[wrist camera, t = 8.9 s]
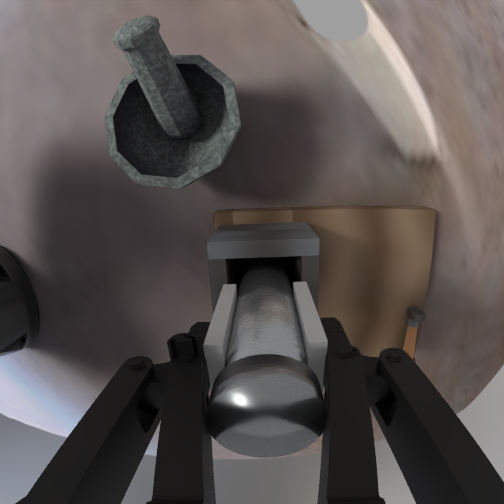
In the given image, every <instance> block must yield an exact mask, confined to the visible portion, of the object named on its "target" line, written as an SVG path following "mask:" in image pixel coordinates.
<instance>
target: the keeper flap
mask: <svg viewBox="0 0 504 504" xmlns="http://www.w3.org/2000/svg"><path fill="white" fill-rule="evenodd" d="M417 327H418V322H413V321H412V320H411V318H410V317H409V319H408V325H407V330H406V335H405V339H404V344H403V348H402V350H404V351H405V352H406V353H408V354H409V356H410V357H411V358H412V359H413V356H414V349H415V342H416V334H417Z"/></svg>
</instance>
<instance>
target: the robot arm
mask: <svg viewBox="0 0 504 504" xmlns="http://www.w3.org/2000/svg"><path fill="white" fill-rule="evenodd" d="M293 300H294V304H295V309H296V313H297V318H298V322H299V327H300V331H301V336H302V341H303V345H304V350H305V355H306V359H307V364H308V367H309V368H310V369H312V371H313V372H314V373H315V374H316V376H317V378H318V380H319V382H320V386H321V390H322V392H323V384H324V387H325V394H324V403H325V407H326V412H327V418H326V424H325V429H324V431H323V438H322V456H321V470H320V483H319V493H318V503H317V504H385V501H384V499H383V498H381V497H380V496H379V492H378V478H377V466H376V455H375V445H374V436H373V428H372V420H371V413H370V407H371V409H372V411H373V413H374V415H375V417H376V419H377V421H378V423H379V426H380V428H381V430H382V432H383V434H384V436H385V438H386V440H387V442H388V444H389V446H390V448H391V450H392V452H393V454H394V456H395V458H396V460H397V463H398V465H399V467H400V469H401V471H402V473H403V476H404V478H405V480H406V482H407V484H408V486H409V488H410V491H411V493H412V495H413V497H414V500H415V502H416V504H504V482H503V481H502V479H501V477H500V476H499V474H498V473H497V472H496V470H495V468H494V467H493V466H492V464H491V463H490V461H489V460H488V458H487V457H486V455H485V454H484V453H483V451H482V450H481V448H480V447H479V445H478V444H477V443H476V441H475V440H474V438H473V437H472V436H471V435H470V433H469V431H468V430H467V429H466V427H465V426H464V425H463V423H462V422H461V421H460V419H459V418H458V417H457V415H456V414H455V413H454V411H453V410H452V409H451V407H450V406H449V405H448V403H447V402H446V401H445V400H444V398H443V397H442V396H441V394H440V393H439V392H438V391H437V389H436V388H435V387H434V385H433V384H432V383H431V382H430V380H429V379H428V378H427V377H426V375H425V374H424V373H423V372H422V370H421V369H420V368H419V367H418V365H417V364H416V363H415V362H414V361H413V359H412V358H411V357H410V356H409V354H408V353H406V352H405V351H404V350H401V349H399V348H387V349H384V350H382V351H381V352H380V355H379V357H369V356H364V355H361V352H360V351H359V349H358V348H356V347H355V346H352V345H351V344H350V341H349V339H348V337H347V335H346V333H345V331H344V329H343V327H342V324H341V322H340V321H339V320H337V319H336V318H335V317H327V318H319V315H318V312H317V310H316V307H315V304H314V301H313V299H312V296H311V293H310V291H309V288H308V285H307V283H306V282H293ZM236 305H237V288H236V284H223V287H222V290H221V293H220V296H219V299H218V302H217V305H216V308H215V311H214V314H213V317H212V320H211V322H197V323H196V324H194V325H193V326H192V327H191V328H190V331H189V333H182V334H177V335H174V336H172V337H171V338H169V340H168V341H167V344H168V349H169V353H170V358H171V359H170V362H167V363H162V364H155V365H153V363H152V360H151V359H150V358H148V357H144V356H136V357H132V358H130V359H128V360H127V361H126V362H125V363H124V364H123V365H122V366H121V368H120V369H119V370H118V371H117V373H116V374H115V375H114V377H113V378H112V379H111V380H110V382H109V383H108V384H107V386H106V387H105V388H104V390H103V391H102V392H101V393H100V395H99V396H98V397H97V399H96V400H95V401H94V403H93V404H92V405H91V407H90V408H89V409H88V411H87V412H86V413H85V415H84V416H83V417H82V419H81V420H80V421H79V423H78V424H77V425H76V427H75V428H74V430H73V431H72V432H71V434H70V435H69V436H68V438H67V439H66V440H65V442H64V443H63V445H62V446H61V447H60V449H59V450H58V452H57V453H56V454H55V456H54V457H53V459H52V460H51V462H50V463H49V464H48V466H47V467H46V468H45V470H44V471H43V473H42V474H41V476H40V477H39V478H38V480H37V481H36V483H35V484H34V486H33V487H32V489H31V490H30V492H29V493H28V495H27V496H26V497H24V498H23V499H21V500H20V501H18V502H17V503H16V504H121V502H122V500H123V498H124V496H125V493H126V491H127V489H128V487H129V485H130V483H131V481H132V479H133V477H134V474H135V472H136V470H137V468H138V466H139V464H140V462H141V460H142V458H143V455H144V454H145V451H146V449H147V447H148V445H149V443H150V441H151V439H152V437H153V435H154V433H155V431H156V429H157V426H158V424H159V422H160V420H161V424H160V432H159V440H158V448H157V457H156V466H155V475H154V487H153V496H152V500H151V501H149V502H147V503H146V504H216V501H215V487H214V473H213V457H212V440H211V434H210V433H209V431H208V426H207V422H206V413H207V408H208V404H209V395H208V393H209V389H210V390H211V391H212V386H213V383H214V380H215V379H216V377H217V375H218V374H219V373H220V372H221V371H222V370H223V369H224V368H225V362H226V357H227V352H228V347H229V341H230V336H231V331H232V326H233V321H234V315H235V310H236ZM38 329H39V313H38V307H37V303H36V299H35V296H34V293H33V290H32V288H31V285H30V283H29V281H28V279H27V277H26V275H25V273H24V271H23V269H22V268H21V266H20V265H19V263H18V262H17V261H16V259H15V258H14V257H13V256H12V255H11V254H10V253H9V252H8V251H7V250H6V249H4V248H3V247H1V246H0V356H4V355H7V354H10V353H14V352H17V351H20V350H22V349H24V348H25V347H27V346H28V345H29V344H30V343H31V342H32V341H33V340H34V339H35V338H36V336H37V333H38ZM369 405H370V406H369Z"/></svg>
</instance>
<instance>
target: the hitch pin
mask: <svg viewBox="0 0 504 504" xmlns="http://www.w3.org/2000/svg"><path fill="white" fill-rule="evenodd" d="M326 418H327V412H326V407H325V403H324V399H323V394H322V390H321V386H320V382H319V380H318V378H317V376H316V374H315V373H314V372H313V371H312V369H310V368H309V367H308V364H307V359H306V355H305V350H304V345H303V341H302V336H301V331H300V327H299V322H298V318H297V313H296V309H295V304H294V300H293V295H292V291H291V286H290V282H289V278H288V273H287V270H286V268H285V267H284V265H283V264H282V263H281V262H280V261H278V260H277V259H274V258H272V257H261V258H256V259H254V260H252V261H251V262H249V263H248V264H247V266H246V267H245V269H244V271H243V274H242V279H241V284H240V290H239V295H238V300H237V305H236V310H235V315H234V321H233V326H232V331H231V336H230V341H229V347H228V352H227V357H226V362H225V368H224V369H223V370H222V371H221V372H220V373H219V374H218V375H217V377H216V379H215V380H214V383H213V386H212V391H211V395H210V399H209V404H208V408H207V413H206V422H207V426H208V431H209V433H210V434H211V436H212V437H213V438H214V439H215V440H216V441H217V442H218V443H219V444H221V445H222V446H224V447H225V448H227V449H229V450H231V451H234V452H236V453H239V454H243V455H247V456H252V457H278V456H284V455H288V454H292V453H295V452H297V451H300V450H302V449H304V448H306V447H307V446H309V445H310V444H312V443H313V442H314V441H316V440H317V439H318V438H319V437H320V435H321V434H322V433H323V431H324V429H325V424H326Z"/></svg>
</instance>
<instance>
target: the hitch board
mask: <svg viewBox="0 0 504 504" xmlns="http://www.w3.org/2000/svg"><path fill="white" fill-rule="evenodd" d="M435 213H436V210H435V209H431V208H428V207H410V206H322V207H282V208H255V209H233V210H217V211H215V212H214V213H213V220H214V234H213V235H212V236H211V237H210V239H209V240H208V241H207V252H208V263H209V273H210V283H211V293H212V303H213V312H214V311H215V308H216V305H217V302H218V299H219V296H220V293H221V290H222V287H223V284H236V288H237V300H238V295H239V290H240V284H239V269H238V258H261V257H288V256H291V282H290V286H291V291H292V295H293V282H306V283H307V285H308V288H309V291H310V293H311V296H312V299H313V301H314V304H315V307H316V310H317V312H318V315H319V318H327V317H335V318H336V319H337V320H339V321H340V322H341V324H342V327H343V329H344V331H345V333H346V335H347V337H348V339H349V341H350V344H351V345H352V346H355V347H356V348H358V349H359V351H360V352H361V355H364V356H369V357H379V355H380V352H381V351H382V350H384V349H387V348H399V349H401V350H402V348H403V344H404V339H405V335H406V330H407V325H408V319H409V317H410V318H411V320H412V321H413V322H418V327H417V334H416V342H415V348H416V344H417V340H418V336H419V331H420V327H421V322H422V321H424V319H425V313H424V307H425V301H426V295H427V289H428V283H429V276H430V269H431V261H432V252H433V242H434V229H435ZM414 352H415V349H414ZM413 361H415V358H414V357H413Z"/></svg>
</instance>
